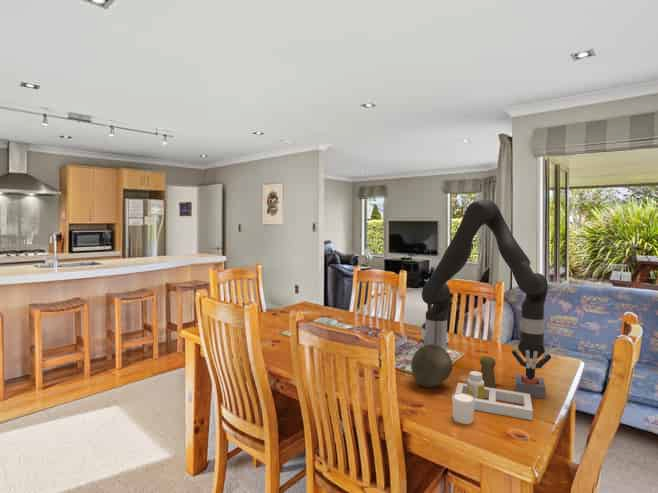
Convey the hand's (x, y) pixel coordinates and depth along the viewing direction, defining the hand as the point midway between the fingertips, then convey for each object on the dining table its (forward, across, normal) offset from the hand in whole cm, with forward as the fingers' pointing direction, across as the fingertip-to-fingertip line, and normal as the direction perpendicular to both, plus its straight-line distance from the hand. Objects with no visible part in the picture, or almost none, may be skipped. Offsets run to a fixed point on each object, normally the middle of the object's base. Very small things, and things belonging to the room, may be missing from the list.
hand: (530, 378), depth 141 cm
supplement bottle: (+5, -17, -16) cm, 24 cm away
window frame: (+5, -12, -16) cm, 21 cm away
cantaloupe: (+5, -33, -9) cm, 35 cm away
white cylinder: (+5, -20, -30) cm, 36 cm away
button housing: (+5, 0, 0) cm, 5 cm away
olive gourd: (+5, -14, -2) cm, 15 cm away
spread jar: (+5, -39, +43) cm, 58 cm away
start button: (+3, 0, 0) cm, 3 cm away
